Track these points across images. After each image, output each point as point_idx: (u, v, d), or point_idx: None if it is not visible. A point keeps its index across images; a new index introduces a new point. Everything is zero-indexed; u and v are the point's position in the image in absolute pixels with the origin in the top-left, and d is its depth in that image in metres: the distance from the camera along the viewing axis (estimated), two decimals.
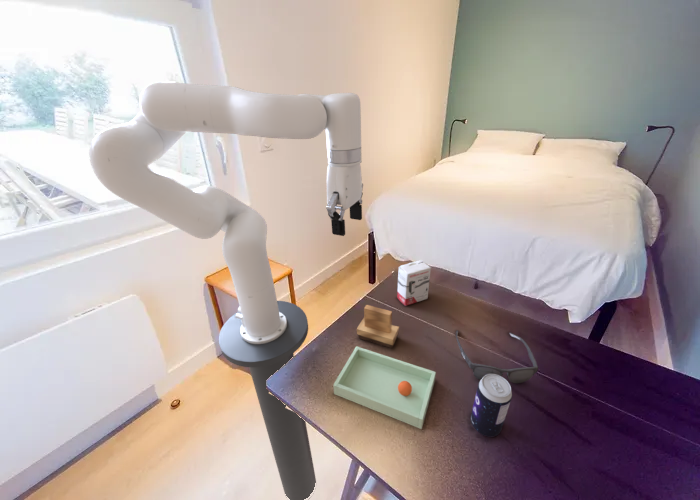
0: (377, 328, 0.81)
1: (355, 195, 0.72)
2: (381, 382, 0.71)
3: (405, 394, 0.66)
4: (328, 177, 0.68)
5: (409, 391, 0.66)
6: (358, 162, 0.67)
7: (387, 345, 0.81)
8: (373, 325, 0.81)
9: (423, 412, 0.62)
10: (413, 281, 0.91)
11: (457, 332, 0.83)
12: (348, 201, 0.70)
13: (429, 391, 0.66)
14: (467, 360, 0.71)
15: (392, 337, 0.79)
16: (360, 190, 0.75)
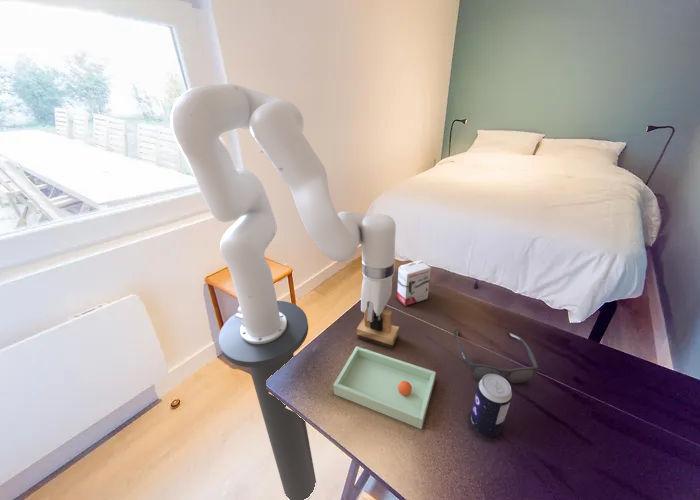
0: None
1: (386, 299, 0.77)
2: (381, 382, 0.71)
3: (405, 394, 0.66)
4: (363, 289, 0.72)
5: (409, 391, 0.66)
6: (392, 275, 0.72)
7: (387, 345, 0.81)
8: None
9: (423, 412, 0.62)
10: (413, 281, 0.91)
11: (457, 332, 0.83)
12: (381, 308, 0.74)
13: (429, 391, 0.66)
14: (467, 360, 0.71)
15: (392, 337, 0.79)
16: (390, 291, 0.79)
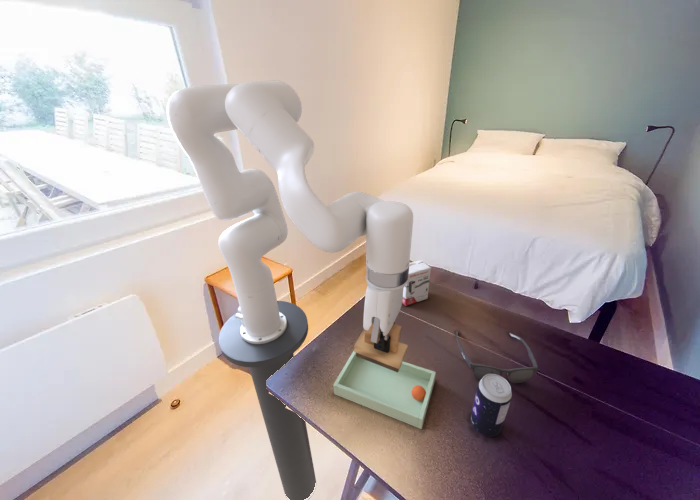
0: None
1: (396, 313, 0.59)
2: (381, 382, 0.71)
3: (416, 399, 0.66)
4: (367, 300, 0.54)
5: None
6: (405, 283, 0.54)
7: (392, 368, 0.63)
8: None
9: (423, 412, 0.62)
10: (413, 281, 0.91)
11: (457, 332, 0.83)
12: (390, 325, 0.57)
13: (429, 391, 0.66)
14: (467, 360, 0.71)
15: (399, 359, 0.62)
16: (401, 302, 0.61)
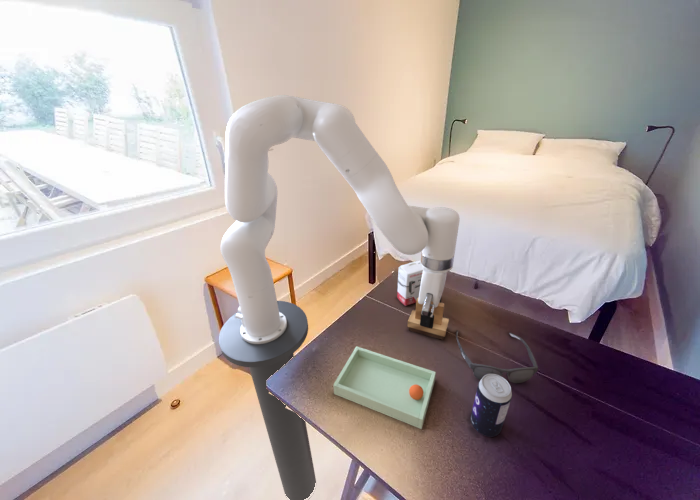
0: None
1: None
2: (381, 382, 0.71)
3: (414, 399, 0.66)
4: (423, 280, 0.73)
5: None
6: (451, 267, 0.73)
7: (438, 337, 0.82)
8: None
9: (423, 412, 0.62)
10: (413, 281, 0.91)
11: (457, 332, 0.83)
12: (439, 300, 0.76)
13: (429, 391, 0.66)
14: (467, 360, 0.71)
15: (444, 329, 0.81)
16: None
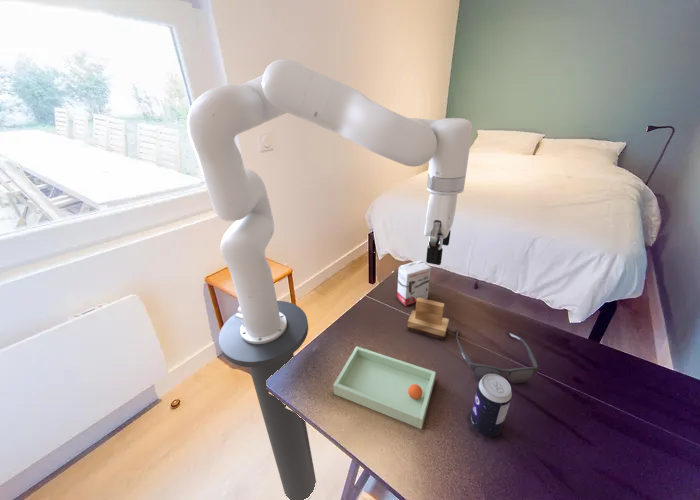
0: (428, 320, 0.83)
1: (452, 222, 0.69)
2: (381, 382, 0.71)
3: (413, 398, 0.66)
4: (430, 205, 0.64)
5: None
6: (462, 190, 0.64)
7: (438, 337, 0.82)
8: (424, 317, 0.83)
9: (423, 412, 0.62)
10: (413, 281, 0.91)
11: (457, 332, 0.83)
12: (448, 230, 0.66)
13: (429, 391, 0.66)
14: (467, 360, 0.71)
15: (444, 329, 0.81)
16: None
